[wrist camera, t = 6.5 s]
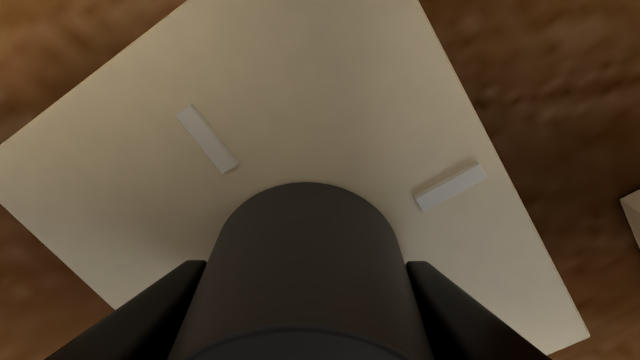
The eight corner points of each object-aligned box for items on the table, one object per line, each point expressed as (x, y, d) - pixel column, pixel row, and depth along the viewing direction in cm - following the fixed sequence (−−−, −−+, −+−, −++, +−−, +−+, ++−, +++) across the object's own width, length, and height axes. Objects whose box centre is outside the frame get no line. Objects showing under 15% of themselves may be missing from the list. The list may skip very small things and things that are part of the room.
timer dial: (392, 167, 8) (458, 326, 4) (406, 323, 10) (463, 543, 6) (194, 194, 8) (85, 368, 5) (238, 343, 10) (186, 566, 6)
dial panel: (534, 263, 13) (596, 342, 10) (290, 380, 15) (283, 474, 12) (342, -93, 9) (354, -133, 6) (51, 127, 11) (-43, 175, 8)
